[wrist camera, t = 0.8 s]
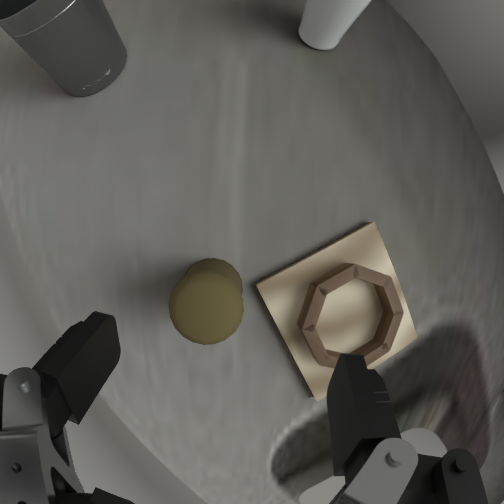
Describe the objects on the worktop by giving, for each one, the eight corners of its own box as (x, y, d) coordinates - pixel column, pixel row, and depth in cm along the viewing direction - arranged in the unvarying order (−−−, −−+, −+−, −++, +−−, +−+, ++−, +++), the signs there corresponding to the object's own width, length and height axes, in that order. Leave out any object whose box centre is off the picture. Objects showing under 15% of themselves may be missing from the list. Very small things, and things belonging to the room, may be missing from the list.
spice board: (255, 283, 30) (258, 288, 27) (369, 222, 31) (384, 220, 27) (314, 396, 31) (322, 411, 27) (412, 335, 32) (428, 342, 28)
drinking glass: (281, 37, 30) (308, -50, 15) (306, 13, 30) (337, -65, 15) (329, 65, 30) (378, -15, 15) (350, 38, 30) (397, -34, 15)
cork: (229, 326, 30) (230, 369, 19) (174, 304, 29) (146, 335, 18) (252, 272, 30) (266, 287, 19) (195, 248, 29) (177, 251, 18)
